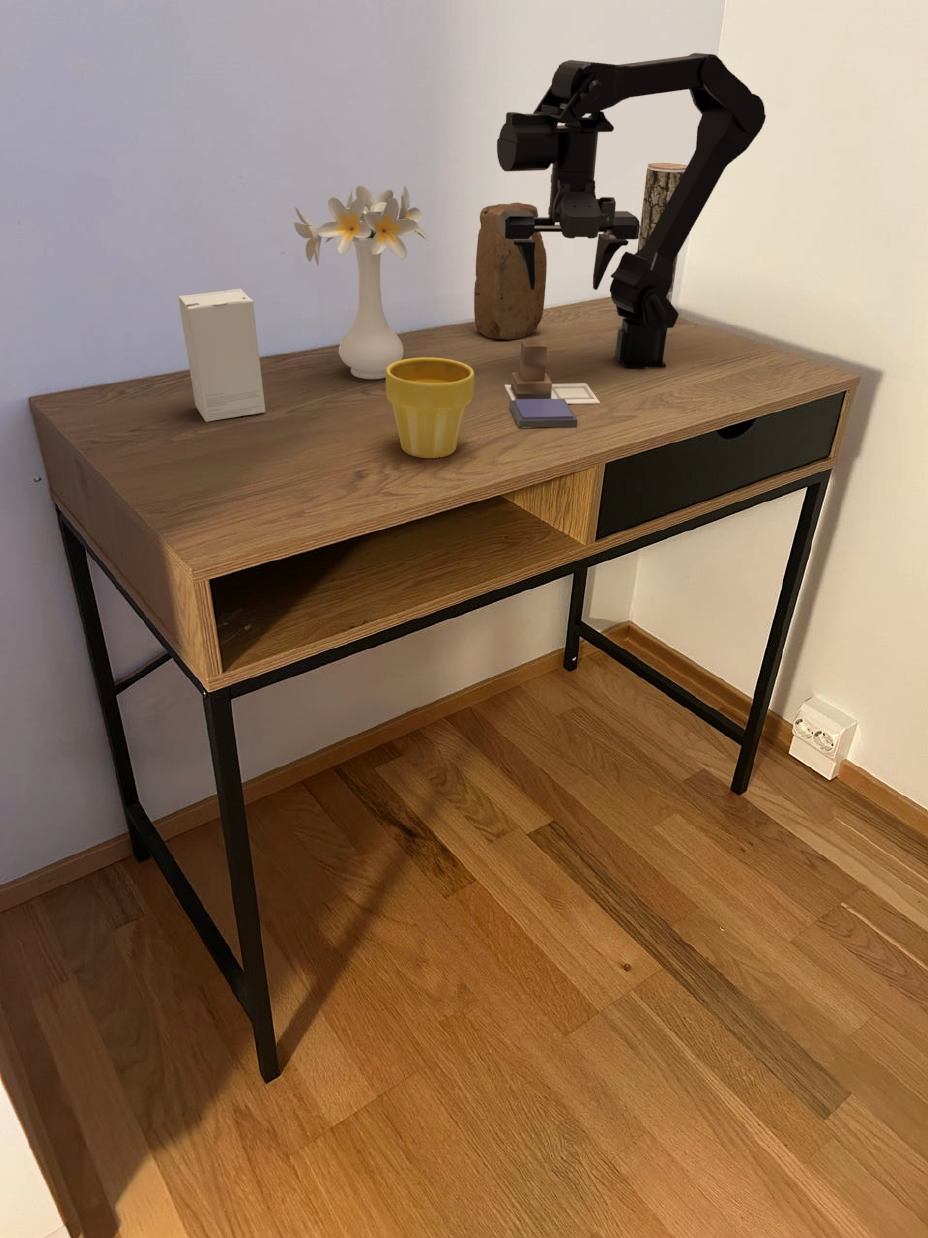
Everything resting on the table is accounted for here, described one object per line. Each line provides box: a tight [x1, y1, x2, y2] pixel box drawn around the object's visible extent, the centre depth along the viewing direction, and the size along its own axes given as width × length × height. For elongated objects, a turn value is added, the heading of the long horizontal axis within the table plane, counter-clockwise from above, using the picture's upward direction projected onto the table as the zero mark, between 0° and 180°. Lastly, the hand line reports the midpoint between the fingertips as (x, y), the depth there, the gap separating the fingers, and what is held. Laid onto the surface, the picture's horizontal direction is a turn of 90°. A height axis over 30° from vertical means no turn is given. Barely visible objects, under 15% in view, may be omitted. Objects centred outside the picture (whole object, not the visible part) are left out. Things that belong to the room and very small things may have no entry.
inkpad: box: [508, 399, 578, 429], centre depth 125 cm, size 8×8×1 cm
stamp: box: [510, 339, 553, 399], centre depth 131 cm, size 5×5×7 cm
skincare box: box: [178, 288, 266, 423], centre depth 120 cm, size 8×6×15 cm
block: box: [473, 202, 548, 341], centre depth 152 cm, size 11×8×20 cm
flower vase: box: [293, 184, 429, 380], centre depth 131 cm, size 13×18×25 cm
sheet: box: [504, 382, 601, 405], centre depth 133 cm, size 12×8×1 cm, turn 97°
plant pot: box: [385, 357, 475, 459], centre depth 113 cm, size 10×10×10 cm
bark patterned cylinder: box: [636, 162, 688, 304], centre depth 159 cm, size 7×7×25 cm
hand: (563, 289), depth 135 cm, fingers open, 9 cm apart
